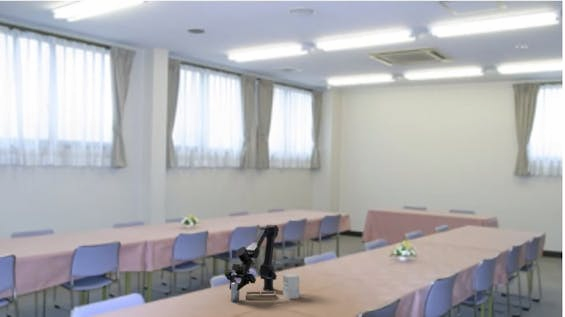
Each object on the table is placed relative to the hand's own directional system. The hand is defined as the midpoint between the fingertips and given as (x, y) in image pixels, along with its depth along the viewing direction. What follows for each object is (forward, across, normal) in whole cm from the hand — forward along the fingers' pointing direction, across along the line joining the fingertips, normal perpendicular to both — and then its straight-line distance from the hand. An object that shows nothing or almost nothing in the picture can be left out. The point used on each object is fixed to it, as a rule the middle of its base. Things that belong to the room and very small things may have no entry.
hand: (233, 289), depth 285 cm
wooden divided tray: (-6, +8, +16) cm, 19 cm away
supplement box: (-13, +22, +23) cm, 35 cm away
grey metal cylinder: (+4, 0, +6) cm, 7 cm away
